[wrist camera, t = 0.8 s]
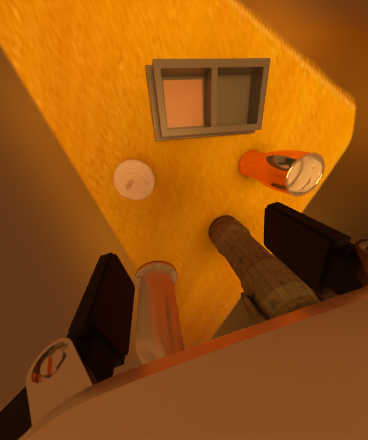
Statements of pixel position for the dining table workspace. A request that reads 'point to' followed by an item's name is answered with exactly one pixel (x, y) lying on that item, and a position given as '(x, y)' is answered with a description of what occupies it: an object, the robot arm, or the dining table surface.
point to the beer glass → (284, 170)
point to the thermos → (260, 273)
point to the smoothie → (134, 179)
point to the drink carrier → (207, 96)
